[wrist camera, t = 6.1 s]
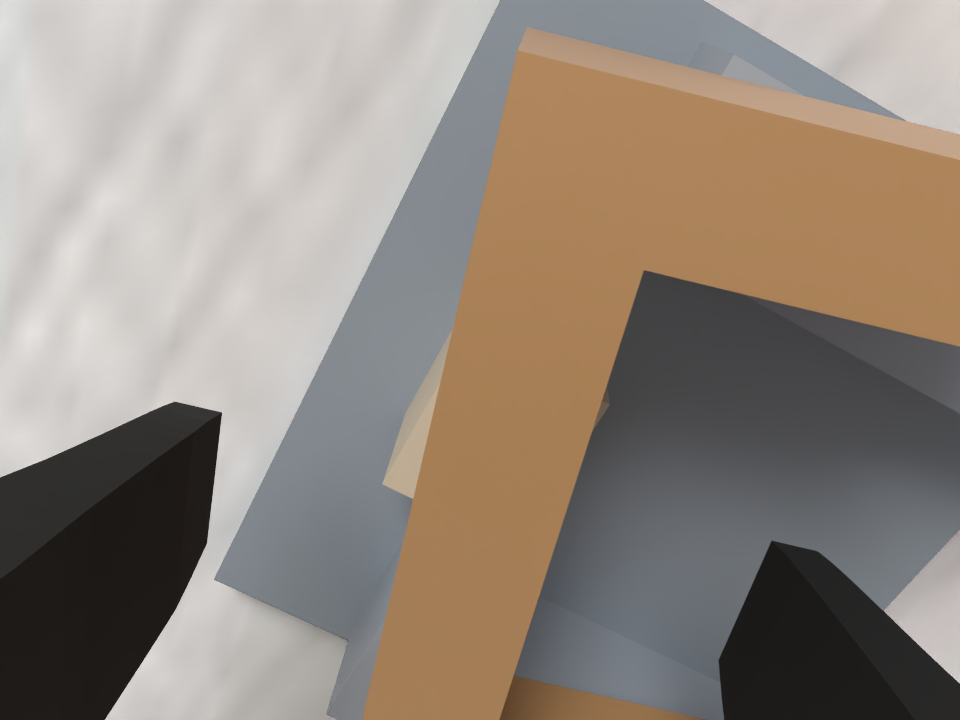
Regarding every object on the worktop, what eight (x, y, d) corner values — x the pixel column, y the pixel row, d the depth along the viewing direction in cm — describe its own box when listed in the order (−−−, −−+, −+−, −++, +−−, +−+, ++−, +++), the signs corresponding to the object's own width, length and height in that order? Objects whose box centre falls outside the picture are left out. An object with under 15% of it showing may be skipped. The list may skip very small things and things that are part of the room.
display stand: (1147, 268, 15) (1308, 346, 12) (697, 765, 21) (724, 910, 17) (546, -89, 14) (546, -110, 10) (229, 550, 19) (165, 666, 16)
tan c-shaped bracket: (1025, 151, 11) (1257, 234, 8) (715, 790, 16) (765, 1029, 12) (527, 27, 11) (517, 50, 7) (366, 711, 16) (312, 930, 12)
